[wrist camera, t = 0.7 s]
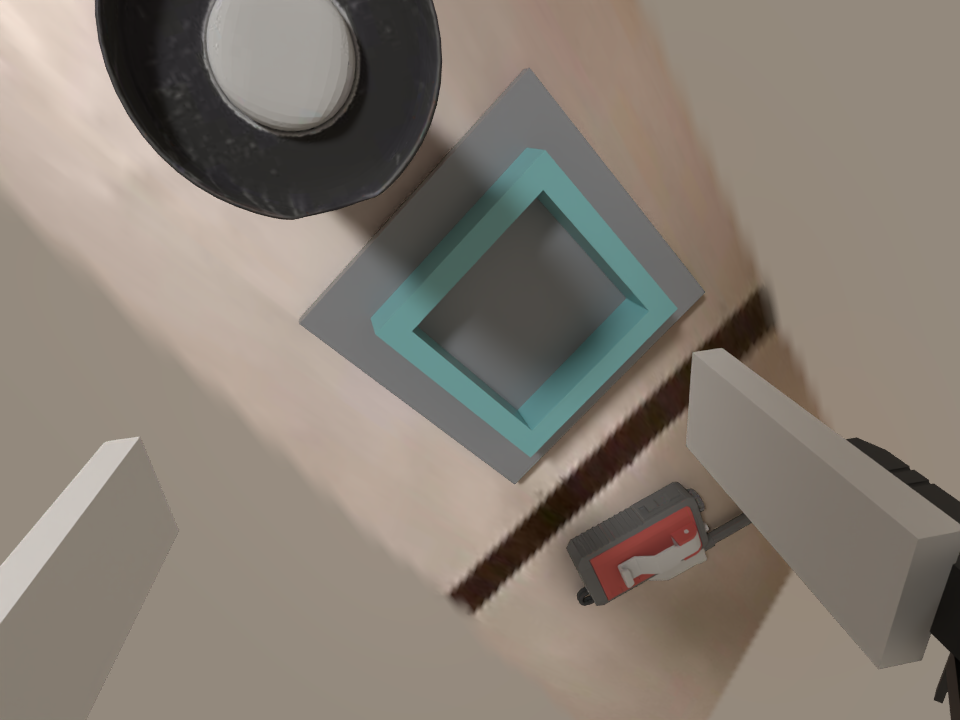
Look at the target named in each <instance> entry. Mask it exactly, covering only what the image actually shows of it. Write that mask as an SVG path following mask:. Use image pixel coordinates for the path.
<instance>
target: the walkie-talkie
mask: <svg viewBox="0 0 960 720" xmlns="http://www.w3.org/2000/svg"><path fill="white" fill-rule="evenodd" d="M704 509H705V506H704V503H703V501H702V499H701V498H700V496H699V495H698V493H697V492H696V491H694V490H693V489H688V490H685V489H684V488H683V487H682V486H681V485H680V484H679V483H678V482H673V483H671V484H669V485H667V486H666V487H664V488H662V489H660V490H658V491H657V492H655V493H653V494H651V495H649V496H648V497H646V498H644V499H642V500H641V501H639V502H637V503H635V504H633V505H632V506H630V508H628V509H625V510H624V511H623V512H619V514H617V515H614V517H612V518H608V520H606V521H603V523H601V524H598V525H597V526H596V527H592V529H590V530H587V531H586V532H585V533H581V535H580V536H578V537H577V536H576V537H575V538H574V539H571V540H570V542H569V544H568V546H567V547H566V549H567V551H568V553H569V555H570V557H571V559H572V561H573V563H574V565H575V567H576V569H577V571H578V573H579V575H580V577H581V579H582V581H583V583H584V585H585V587H584V588H582V589H581V590H580V591H579V592H578V593H577V600H578V601H579V603H580V604H581V605H584V606H586V605H590V604H592V603H594V602H595V604H596V606H599V605H605V604H606V603H608V602H610V601H611V600H613V599H615V598H617V597H618V596H621V595H622V594H624V593H626V592H627V591H629V590H631V589H633V588H634V587H637V586H638V585H640V584H642V583H643V582H645V581H647V580H649V581H653V580H670V579H672V578H673V577H675V576H677V575H679V574H681V573H682V572H684V571H686V570H688V569H689V568H691V567H693V566H695V565H696V564H701V563H703V562H704V561H706V560H707V557H706V554H705V551H707V550H708V549H710V548H712V547H713V546H715V543H717V542H719V541H721V540H722V539H724V538H726V537H728V536H729V535H731V534H733V533H735V532H736V531H738V530H740V529H742V528H743V527H745V526H747V525H749V524H750V523H752V522H751V521H750V520H749V518H748V517H747V516H746V515H745V514H744V513H743V514H741V515H740V516H738V517H736V518H734V519H732V520H731V521H729V522H727V523H725V524H724V525H722V526H720V527H718V528H717V529H715V530H713V531H711V532H709V533H706V532H707V531H708V530H709V528H708V526H707V525H706V524H704V523H705V522H703V521H702V518H701V515H700V512H702V511H704ZM588 594H590V596H587V595H588ZM585 596H587V597H585ZM584 597H585V598H584Z"/></svg>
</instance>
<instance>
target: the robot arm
mask: <svg viewBox="0 0 960 720" xmlns="http://www.w3.org/2000/svg"><path fill="white" fill-rule="evenodd" d="M686 446H687V448H688V449H689V450H690V451H691V452H692V453H693V455H694V456H695V457H696V458H697V459H698V460H699V462H700V463H701V464H702V465H703V466H704V467H705V469H706V470H707V471H708V472H709V473H710V474H711V475H712V477H713V478H714V479H715V480H716V481H717V482H718V484H719V485H720V486H721V487H722V488H723V489H724V491H725V492H726V493H727V494H728V495H729V496H730V498H731V499H732V500H733V501H734V502H735V503H736V505H737V506H738V507H739V508H740V509H741V510H742V511H743V513H744V514H745V515H746V516H747V517H748V518H749V520H750V521H751V522H752V523H753V524H754V525H755V527H756V528H757V529H758V530H759V531H760V532H761V534H762V535H763V536H764V537H765V538H766V539H767V540H768V542H769V543H770V544H771V545H772V546H773V547H774V549H775V550H776V551H777V552H778V553H779V554H780V556H781V557H782V558H783V559H784V560H785V561H786V563H787V564H788V565H789V566H790V567H791V568H792V570H793V571H794V572H795V573H796V574H797V575H798V576H799V578H800V579H801V580H802V581H803V582H804V583H805V585H807V587H808V588H809V589H810V590H811V592H812V593H813V594H814V595H815V596H816V597H817V599H818V600H819V601H820V602H821V603H822V604H823V606H824V607H825V608H826V609H827V610H828V611H829V612H830V614H831V615H832V616H833V617H834V618H835V619H836V621H837V622H838V623H839V624H840V625H841V626H842V628H843V629H844V630H845V631H846V632H847V633H848V635H849V636H850V637H851V638H852V639H853V640H854V642H855V643H856V644H857V645H858V646H859V647H860V648H861V650H862V651H863V652H864V653H865V654H866V655H867V657H868V658H869V659H870V660H871V661H872V662H873V663H874V665H875V666H876V667H877V668H878V669H883V668H888V667H892V666H897V665H902V664H906V663H911V662H916V661H921V660H922V658H923V655H924V652H925V649H926V647H927V644H928V641H929V638H930V635H931V634H933V635H934V636H935V637H936V638H937V639H938V640H939V641H940V642H941V643H942V644H943V645H944V646H945V647H946V648H947V649H948V650H949V651H950V655H949V657H948V660H947V663H946V665H945V668H944V670H943V673H942V676H941V679H940V681H939V684H938V686H937V689H936V693H935V697H934V700H935V701H938V702H940V703H943V701H944V698H945V695H946V693H947V692H948V695H949V705H950V713H951V720H960V502H959V501H958V500H957V499H955V498H954V497H952V496H951V495H949V494H948V493H946V492H945V491H944V490H942V489H941V488H939V487H938V486H937V485H935V484H930V483H929V480H928V479H927V478H925V477H924V476H922V475H921V474H919V473H918V472H917V471H915V470H910V468H909V466H908V465H907V464H905V463H904V462H902V461H901V460H900V459H898V458H897V457H895V456H894V455H892V454H891V453H890V452H888V451H886V450H885V449H882V448H880V447H878V446H875V445H873V444H871V443H868V442H866V441H863V440H861V439H859V438H851V439H844V438H843V437H842V436H840V435H839V434H838V433H836V432H835V431H833V430H832V429H831V428H829V427H828V426H827V425H825V424H824V423H823V422H821V421H820V420H819V419H817V418H816V417H815V416H813V415H812V414H811V413H809V412H808V411H806V410H805V409H804V408H802V407H801V406H800V405H798V404H797V403H796V402H794V401H793V400H792V399H790V398H789V397H788V396H786V395H785V394H783V393H782V392H781V391H779V390H778V389H777V388H775V387H774V386H773V385H771V384H770V383H769V382H767V381H766V380H765V379H763V378H762V377H761V376H759V375H758V374H756V373H755V372H754V371H752V370H751V369H750V368H748V367H747V366H746V365H744V364H743V363H742V362H740V361H739V360H738V359H736V358H735V357H734V356H732V355H731V354H729V353H728V352H727V351H725V350H724V349H723V348H718V349H712V350H705V351H698V352H693V354H692V368H691V382H690V396H689V410H688V424H687V438H686ZM178 532H179V529H178V527H177V524H176V522H175V519H174V517H173V514H172V512H171V510H170V507H169V505H168V502H167V500H166V498H165V495H164V493H163V491H162V489H161V486H160V483H159V481H158V478H157V476H156V474H155V471H154V469H153V466H152V464H151V461H150V459H149V456H148V454H147V452H146V449H145V447H144V445H143V442H142V440H141V437H133V438H126V439H120V440H113V441H107V442H104V443H103V445H102V446H101V447H100V448H99V449H98V450H97V452H96V453H95V454H94V455H93V456H92V458H91V459H90V460H89V461H88V463H87V464H86V465H85V466H84V467H83V468H82V470H81V471H80V472H79V473H78V474H77V475H76V477H75V478H74V479H73V480H72V481H71V483H70V484H69V485H68V486H67V487H66V489H65V490H64V491H63V492H62V493H61V495H60V496H59V497H58V498H57V499H56V501H55V502H54V503H53V504H52V505H51V506H50V508H49V509H48V510H47V511H46V512H45V514H44V515H43V516H42V517H41V519H40V520H39V521H38V522H37V523H36V524H35V525H34V527H33V528H32V529H31V530H30V531H29V533H28V534H27V535H26V536H25V537H24V539H23V540H22V541H21V542H20V543H19V545H18V546H17V547H16V548H15V549H14V551H13V552H12V553H11V554H10V555H9V556H8V558H7V559H6V560H5V561H4V562H3V564H2V565H1V566H0V720H86V719H87V717H88V715H89V713H90V711H91V709H92V707H93V705H94V703H95V701H96V699H97V697H98V695H99V693H100V691H101V689H102V686H103V684H104V682H105V680H106V678H107V676H108V674H109V672H110V670H111V668H112V666H113V664H114V662H115V660H116V658H117V656H118V654H119V652H120V650H121V648H122V646H123V644H124V641H125V640H126V637H127V636H128V634H129V632H130V630H131V628H132V625H133V624H134V621H135V619H136V617H137V615H138V613H139V611H140V609H141V607H142V605H143V603H144V601H145V599H146V597H147V595H148V593H149V591H150V589H151V587H152V585H153V583H154V581H155V579H156V577H157V575H158V572H159V571H160V569H161V566H162V564H163V562H164V560H165V558H166V556H167V554H168V552H169V550H170V548H171V546H172V544H173V542H174V540H175V538H176V536H177V534H178Z"/></svg>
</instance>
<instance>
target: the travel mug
mask: <svg viewBox="0 0 960 720" xmlns="http://www.w3.org/2000/svg"><path fill="white" fill-rule="evenodd" d="M95 17H96V25H97V32H98V40H99V44H100V48H101V52H102V55H103V59H104V63H105V67H106V69H107V72H108V74H109V77H110V79H111V82H112V84H113V87H114V89H115V92H116V94H117V95H118V97H119V99H120V101H121V103H122V105H123V107H124V109H125V110H126V112H127V114H128V116H129V117H130V119H131V120H132V122H133V123H134V124H135V126H136V127H137V129H138V130H139V132H140V133H141V135H142V136H143V137H144V138H145V139H146V141H147V142H148V143H149V144H150V145H151V146H152V148H153V149H154V150H155V151H156V152H157V153H158V154H159V155H160V156H161V157H162V158H163V159H164V160H165V161H166V162H167V163H168V164H169V165H170V166H171V167H172V168H174V169H175V170H176V171H177V172H178V173H179V174H181V175H182V176H183V177H185V178H186V179H188V180H189V181H190V182H192V183H193V184H194V185H196V186H197V187H199V188H201V189H202V190H204V191H206V192H207V193H209V194H211V195H213V196H214V197H216V198H218V199H220V200H223V201H225V202H227V203H229V204H232V205H234V206H236V207H239V208H242V209H245V210H247V211H250V212H253V213H256V214H260V215H264V216H268V217H272V218H278V219H286V220H294V219H299V218H303V217H307V216H312V215H317V214H321V213H325V212H329V211H334V210H338V209H341V208H344V207H347V206H350V205H353V204H355V203H358V202H361V201H364V200H367V199H371V198H374V197H376V196H378V195H380V194H381V193H382V192H384V191H385V190H386V189H387V188H388V187H389V186H391V185H392V184H393V183H394V182H395V180H396V179H397V178H398V177H399V176H400V175H401V174H402V173H403V171H404V170H405V169H406V167H407V166H408V165H409V163H410V162H411V161H412V159H413V158H414V156H415V154H416V153H417V151H418V149H419V148H420V146H421V144H422V143H423V141H424V138H425V136H426V134H427V132H428V130H429V127H430V125H431V122H432V119H433V116H434V112H435V109H436V106H437V101H438V96H439V90H440V85H441V71H442V52H441V37H440V31H439V25H438V19H437V14H436V11H435V7H434V4H433V0H95Z"/></svg>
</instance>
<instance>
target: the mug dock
mask: <svg viewBox="0 0 960 720" xmlns="http://www.w3.org/2000/svg"><path fill="white" fill-rule="evenodd" d="M704 293H705V291H704V290H703V289H702V287H701V286H700V285H699V283H698V282H697V281H696V280H695V278H694V277H693V276H692V274H691V273H690V272H689V271H688V269H687V268H686V267H685V266H684V264H683V263H682V262H681V260H680V259H679V258H678V257H677V255H676V254H675V253H674V252H673V250H672V249H671V248H670V246H669V245H668V244H667V243H666V241H665V240H664V239H663V238H662V236H661V235H660V234H659V232H658V231H657V230H656V229H655V227H654V226H653V225H652V223H651V222H650V221H649V220H648V218H647V217H646V216H645V215H644V213H643V212H642V211H641V209H640V208H639V207H638V206H637V204H636V203H635V202H634V201H633V199H632V198H631V197H630V195H629V194H628V193H627V192H626V190H625V189H624V188H623V187H622V185H621V184H620V183H619V181H618V180H617V179H616V178H615V176H614V175H613V174H612V172H611V171H610V170H609V169H608V167H607V166H606V165H605V164H604V162H603V161H602V160H601V158H600V157H599V156H598V155H597V153H596V152H595V151H594V150H593V148H592V147H591V146H590V144H589V143H588V142H587V141H586V139H585V138H584V137H583V135H582V134H581V133H580V132H579V130H578V129H577V128H576V127H575V125H574V124H573V123H572V121H571V120H570V119H569V118H568V116H567V115H566V114H565V113H564V111H563V110H562V109H561V107H560V106H559V105H558V104H557V102H556V101H555V100H554V99H553V97H552V96H551V95H550V93H549V92H548V91H547V90H546V88H545V87H544V86H543V84H542V83H541V82H540V81H539V79H538V78H537V77H536V76H535V74H534V73H533V72H532V70H531V69H530V68H528V69H524V70H523V71H522V72H521V73H520V74H519V75H518V76H517V77H516V79H515V80H514V81H513V82H512V83H511V84H510V85H509V86H508V87H507V89H506V90H505V91H504V92H503V93H502V94H501V95H500V96H499V97H498V99H497V100H496V101H495V102H494V103H493V104H492V105H491V106H490V107H489V109H488V110H487V111H486V112H485V113H484V114H483V115H482V116H481V117H480V119H479V120H478V121H477V122H476V123H475V124H474V125H473V126H472V127H471V129H470V130H469V131H468V132H467V133H466V134H465V135H464V136H463V138H462V139H461V140H460V141H459V142H458V143H457V144H456V145H455V146H454V148H453V149H452V150H451V151H450V152H449V153H448V154H447V155H446V156H445V158H444V159H443V160H442V161H441V162H440V163H439V164H438V165H437V166H436V168H435V169H434V170H433V171H432V172H431V173H430V174H429V175H428V176H427V178H426V179H425V180H424V181H423V182H422V183H421V184H420V185H419V186H418V188H417V189H416V190H415V191H414V192H413V193H412V194H411V195H410V196H409V198H408V199H407V200H406V201H405V202H404V203H403V204H402V205H401V206H400V208H399V209H398V210H397V211H396V212H395V213H394V214H393V215H392V216H391V218H390V219H389V220H388V221H387V222H386V223H385V224H384V225H383V226H382V228H381V229H380V230H379V231H378V232H377V233H376V234H375V235H374V236H373V238H372V239H371V240H370V241H369V242H368V243H367V244H366V245H365V246H364V248H363V249H362V250H361V251H360V252H359V253H358V254H357V255H356V256H355V258H354V259H353V260H352V261H351V262H350V263H349V264H348V265H347V266H346V268H345V269H344V270H343V271H342V272H341V273H340V274H339V275H338V276H337V278H336V279H335V280H334V281H333V282H332V283H331V284H330V285H329V286H328V288H327V289H326V290H325V291H324V292H323V293H322V294H321V295H320V296H319V298H318V299H317V300H316V301H315V302H314V303H313V304H312V305H311V307H310V308H309V309H308V310H307V311H306V312H305V313H304V314H303V315H302V317H301V318H300V320H299V324H300V325H302V326H303V327H304V328H306V329H307V330H308V331H310V332H311V333H312V334H314V335H315V336H316V337H318V338H319V339H320V340H322V341H323V342H324V343H326V344H327V345H328V346H330V347H331V348H332V349H334V350H335V351H336V352H338V353H339V354H341V355H342V356H343V357H345V358H346V359H347V360H349V361H350V362H351V363H353V364H354V365H355V366H357V367H358V368H359V369H361V370H362V371H363V372H365V373H366V374H367V375H369V376H370V377H371V378H373V379H374V380H375V381H377V382H378V383H379V384H381V385H382V386H383V387H385V388H386V389H387V390H389V391H390V392H391V393H393V394H394V395H395V396H397V397H398V398H399V399H401V400H402V401H404V402H405V403H406V404H408V405H409V406H410V407H412V408H413V409H414V410H416V411H417V412H418V413H420V414H421V415H422V416H424V417H425V418H426V419H428V420H429V421H430V422H432V423H433V424H434V425H436V426H437V427H438V428H440V429H441V430H442V431H444V432H445V433H446V434H448V435H449V436H450V437H452V438H453V439H454V440H456V441H457V442H458V443H460V444H461V445H462V446H464V447H465V448H466V449H468V450H469V451H471V452H472V453H473V454H475V455H476V456H477V457H479V458H480V459H481V460H483V461H484V462H485V463H487V464H488V465H489V466H491V467H492V468H493V469H495V470H496V471H497V472H499V473H500V474H501V475H503V476H504V477H505V478H507V479H508V480H509V481H511V482H512V483H513V484H516V483H517V482H518V481H519V480H520V479H521V478H522V477H523V476H524V475H525V474H526V473H527V472H528V471H529V470H530V469H531V468H532V467H533V466H534V465H535V464H536V463H537V462H538V460H539V459H540V458H541V457H542V456H543V455H544V454H545V453H546V452H547V451H548V450H549V449H550V448H551V447H552V446H553V445H554V444H555V443H556V442H557V441H558V440H559V439H560V438H561V437H562V436H563V435H564V434H565V433H566V432H567V431H568V430H569V429H570V428H571V427H572V426H573V425H574V424H575V423H576V422H577V421H578V420H579V419H580V418H581V417H582V416H583V415H584V414H585V413H586V412H587V411H588V410H589V409H590V408H591V407H592V406H593V405H594V404H595V403H596V402H597V401H598V400H599V399H600V398H601V397H602V396H603V395H604V394H605V393H606V392H607V391H608V390H609V389H610V388H611V387H612V386H613V385H614V384H615V383H616V382H617V381H618V380H619V379H620V378H621V377H622V376H623V375H624V374H625V373H626V372H627V371H628V370H629V369H630V368H631V367H632V366H633V365H634V364H635V363H636V362H637V361H638V360H639V359H640V358H641V357H642V356H643V355H644V354H645V353H646V352H647V351H648V350H649V349H650V347H651V346H652V345H653V344H654V343H655V342H656V341H657V340H658V339H659V338H660V337H661V336H662V335H663V334H664V333H665V332H666V331H667V330H668V329H669V328H670V327H671V326H672V325H673V324H674V323H675V322H676V321H677V320H678V319H679V318H680V317H681V316H682V315H683V314H684V313H685V312H686V311H687V310H688V309H689V308H690V307H691V306H692V305H693V304H694V303H695V302H696V301H697V300H698V299H699V298H700V297H701V296H702V295H703V294H704Z"/></svg>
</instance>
